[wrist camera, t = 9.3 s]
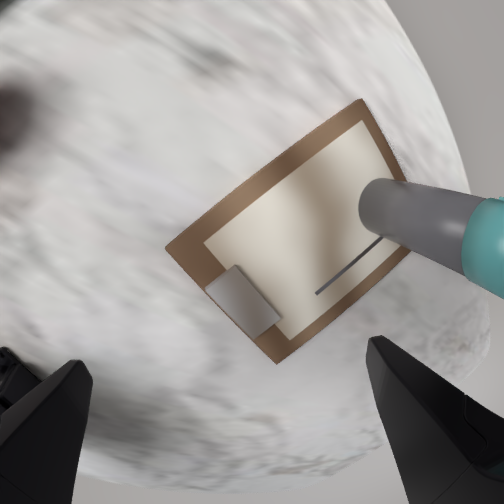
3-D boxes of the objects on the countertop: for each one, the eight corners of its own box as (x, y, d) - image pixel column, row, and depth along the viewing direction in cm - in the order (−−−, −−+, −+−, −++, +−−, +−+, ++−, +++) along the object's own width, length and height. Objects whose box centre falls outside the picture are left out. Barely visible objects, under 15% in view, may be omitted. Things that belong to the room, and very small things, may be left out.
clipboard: (274, 360, 23) (278, 368, 22) (165, 246, 19) (164, 251, 18) (424, 231, 23) (432, 234, 22) (357, 99, 19) (365, 97, 18)
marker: (385, 245, 22) (515, 314, 11) (346, 215, 20) (491, 279, 9) (413, 195, 21) (550, 235, 10) (378, 161, 20) (530, 184, 9)
